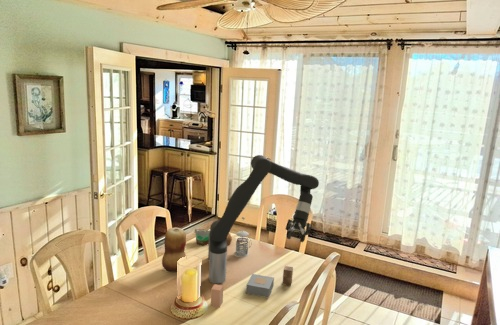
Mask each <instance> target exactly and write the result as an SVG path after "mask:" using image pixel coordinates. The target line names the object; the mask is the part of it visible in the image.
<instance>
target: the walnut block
mask: <svg viewBox="0 0 500 325" xmlns="http://www.w3.org/2000/svg"><path fill="white" fill-rule="evenodd" d="M293 270H294V267H293V266H288V265H285V266H284V267H283V270H282V271H283V272H282V273H283V274H282V285H283V286H288V287H291V286H292V284H293V274H294V273H293Z"/></svg>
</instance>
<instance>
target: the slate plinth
mask: <svg viewBox="0 0 500 325" xmlns="http://www.w3.org/2000/svg"><path fill="white" fill-rule="evenodd" d="M274 281H275V277H273V276H267V275H261V274H257V273H256V274H255V273H252V274H251V276H250V278H249V279H248V281H247V282H246V286H245V287H246V290H245V294H248V295H252V296H258V297H262V298H270V295H271V293H272V290H273V288H274V284H275V283H274Z"/></svg>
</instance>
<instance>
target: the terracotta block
mask: <svg viewBox="0 0 500 325" xmlns="http://www.w3.org/2000/svg"><path fill="white" fill-rule="evenodd" d="M223 301H224V285H222V284H216V283H213V285H212V287H211V288H210V307H215V308H221V306H222V304H223V303H224V302H223Z"/></svg>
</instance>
